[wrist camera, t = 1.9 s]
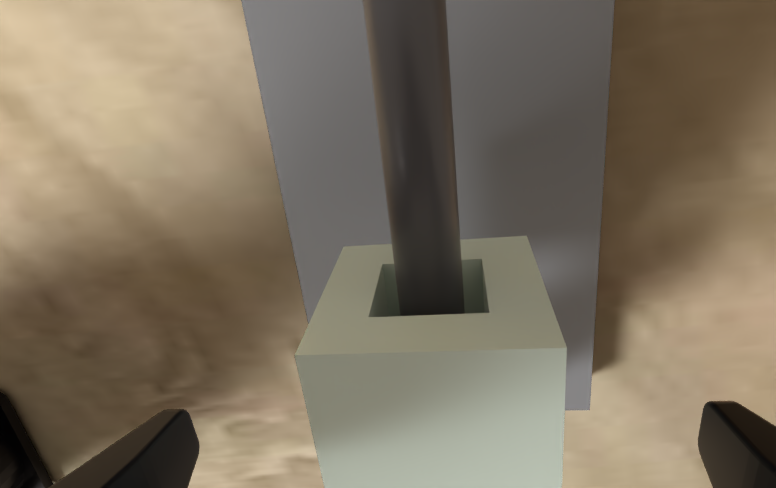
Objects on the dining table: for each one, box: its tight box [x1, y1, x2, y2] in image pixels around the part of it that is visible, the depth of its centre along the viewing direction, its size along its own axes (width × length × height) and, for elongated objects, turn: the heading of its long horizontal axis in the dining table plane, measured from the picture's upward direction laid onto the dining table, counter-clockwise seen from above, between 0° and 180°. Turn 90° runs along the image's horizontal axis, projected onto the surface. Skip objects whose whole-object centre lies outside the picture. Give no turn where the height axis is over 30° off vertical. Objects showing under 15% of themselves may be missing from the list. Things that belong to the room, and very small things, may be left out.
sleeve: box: [295, 236, 567, 488], centre depth 10 cm, size 4×4×4 cm
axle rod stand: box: [241, 0, 615, 410], centre depth 10 cm, size 22×9×9 cm, turn 6°
